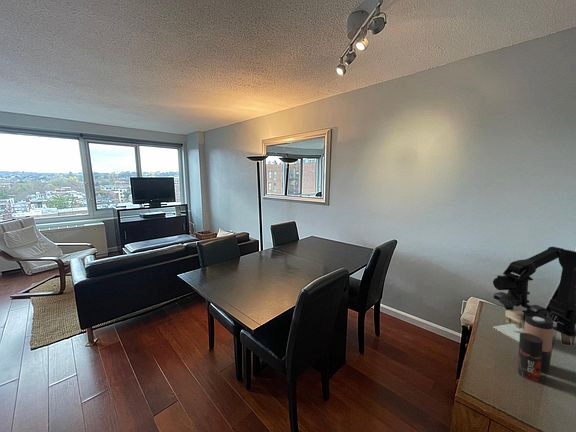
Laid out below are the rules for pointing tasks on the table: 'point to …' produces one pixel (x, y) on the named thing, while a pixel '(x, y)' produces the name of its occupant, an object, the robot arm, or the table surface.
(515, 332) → the board
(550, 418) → the table surface
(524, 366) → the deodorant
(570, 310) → the robot arm
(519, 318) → the tan box with tabs
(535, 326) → the travel mug
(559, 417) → the table surface
